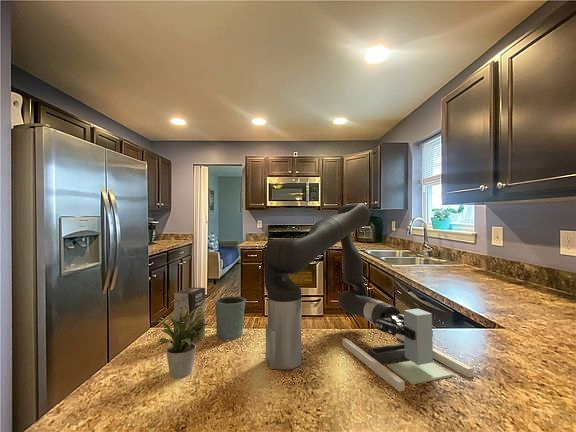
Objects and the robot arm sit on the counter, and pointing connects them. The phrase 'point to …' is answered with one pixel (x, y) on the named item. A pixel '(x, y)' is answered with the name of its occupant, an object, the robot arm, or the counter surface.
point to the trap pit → (388, 353)
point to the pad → (419, 372)
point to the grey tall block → (419, 336)
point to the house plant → (181, 344)
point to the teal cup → (229, 317)
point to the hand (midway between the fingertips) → (423, 334)
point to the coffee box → (190, 307)
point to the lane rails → (393, 378)
